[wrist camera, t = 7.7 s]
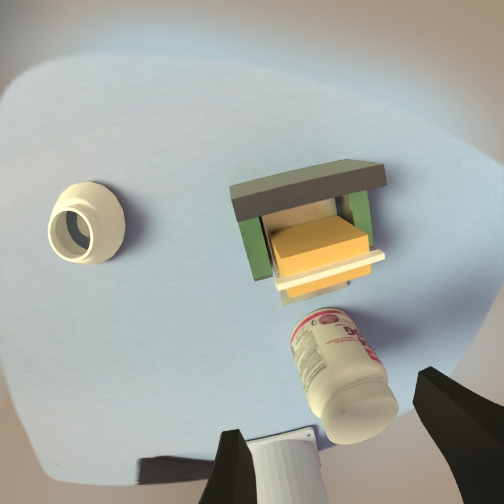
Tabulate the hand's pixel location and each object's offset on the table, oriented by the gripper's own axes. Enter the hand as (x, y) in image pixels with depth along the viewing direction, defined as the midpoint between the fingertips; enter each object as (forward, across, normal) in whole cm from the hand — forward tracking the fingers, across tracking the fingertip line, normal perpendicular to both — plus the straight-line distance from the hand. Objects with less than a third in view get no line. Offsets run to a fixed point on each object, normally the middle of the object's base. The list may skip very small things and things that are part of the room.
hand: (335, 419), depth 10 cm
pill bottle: (+10, -2, +4) cm, 11 cm away
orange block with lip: (+9, -2, -4) cm, 10 cm away
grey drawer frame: (+10, -2, -4) cm, 11 cm away
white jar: (+10, +10, -8) cm, 17 cm away
